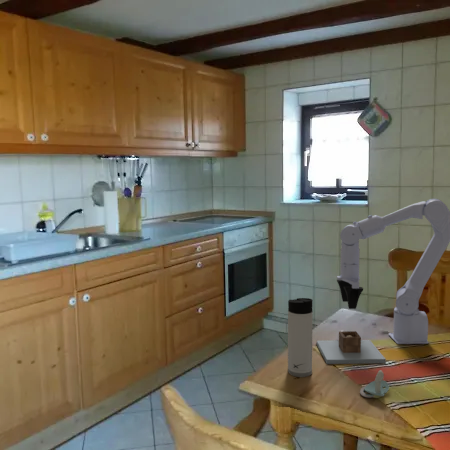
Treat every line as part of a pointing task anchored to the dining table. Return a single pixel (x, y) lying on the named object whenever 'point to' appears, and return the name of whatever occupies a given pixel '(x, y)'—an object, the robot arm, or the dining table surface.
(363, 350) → the grey rectangular slab
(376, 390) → the pacifier
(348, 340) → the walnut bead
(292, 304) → the travel mug
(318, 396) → the dining table surface
